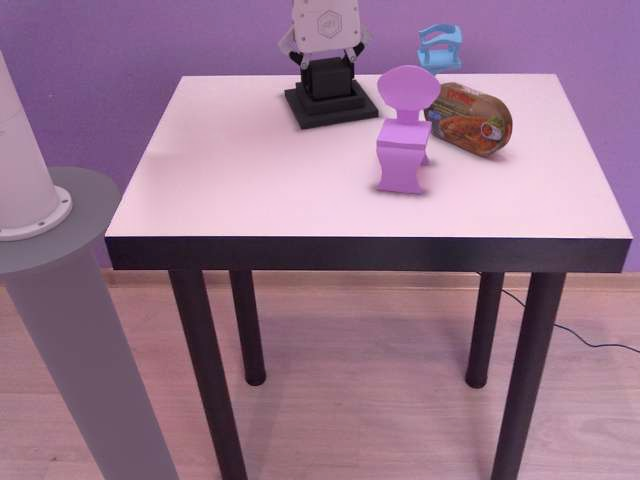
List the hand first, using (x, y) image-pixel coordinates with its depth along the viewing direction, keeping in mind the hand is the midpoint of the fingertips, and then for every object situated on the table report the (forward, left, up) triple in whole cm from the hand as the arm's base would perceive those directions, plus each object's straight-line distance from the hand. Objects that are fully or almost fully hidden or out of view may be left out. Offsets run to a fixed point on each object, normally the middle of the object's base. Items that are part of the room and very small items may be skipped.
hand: (328, 85), depth 103 cm
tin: (+16, -19, -4) cm, 25 cm away
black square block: (0, 0, -1) cm, 1 cm away
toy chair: (+4, -25, -4) cm, 26 cm away
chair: (+18, -3, -4) cm, 19 cm away
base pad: (0, 0, -4) cm, 4 cm away
